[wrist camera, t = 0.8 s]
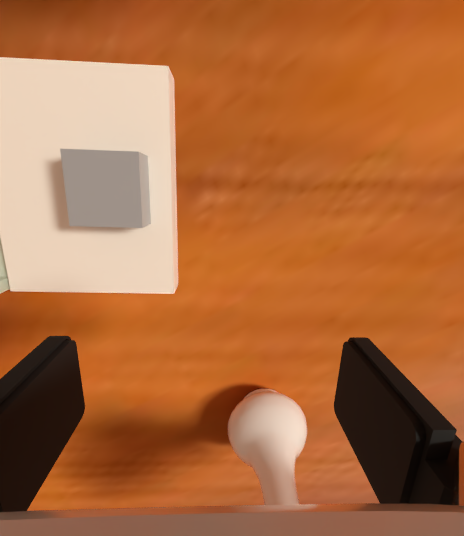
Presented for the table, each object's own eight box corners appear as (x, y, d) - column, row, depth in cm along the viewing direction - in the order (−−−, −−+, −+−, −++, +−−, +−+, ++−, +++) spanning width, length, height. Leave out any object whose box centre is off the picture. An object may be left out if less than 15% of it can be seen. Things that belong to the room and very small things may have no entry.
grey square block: (78, 153, 25) (60, 148, 22) (147, 155, 25) (138, 151, 22) (85, 222, 27) (69, 226, 24) (150, 223, 27) (142, 227, 24)
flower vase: (348, 418, 38) (575, 826, 14) (218, 462, 39) (216, 910, 15) (321, 337, 34) (563, 690, 10) (180, 387, 35) (94, 812, 11)
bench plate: (-6, 70, 26) (-34, 55, 23) (174, 79, 26) (168, 66, 23) (30, 281, 31) (10, 291, 28) (178, 284, 32) (174, 293, 29)
